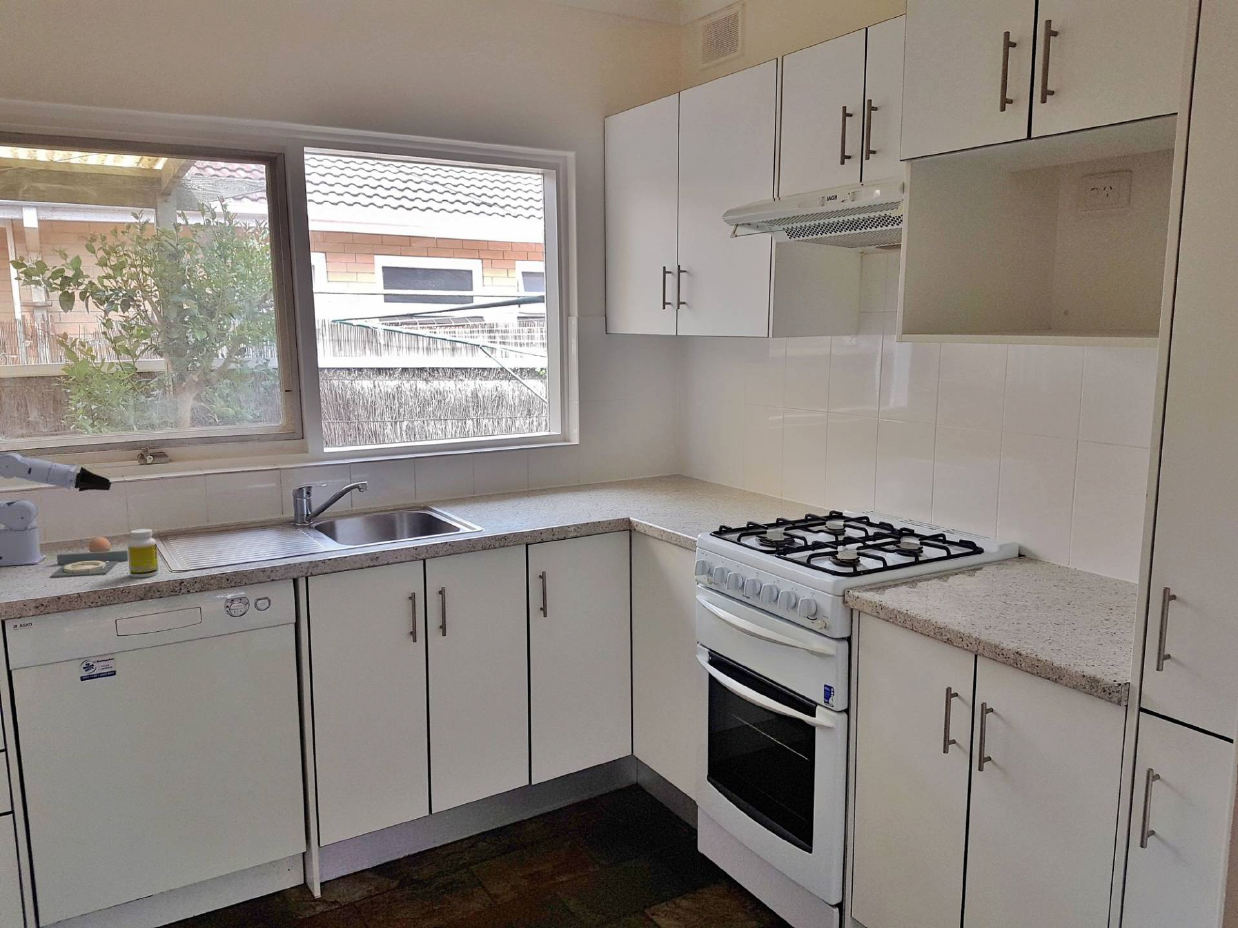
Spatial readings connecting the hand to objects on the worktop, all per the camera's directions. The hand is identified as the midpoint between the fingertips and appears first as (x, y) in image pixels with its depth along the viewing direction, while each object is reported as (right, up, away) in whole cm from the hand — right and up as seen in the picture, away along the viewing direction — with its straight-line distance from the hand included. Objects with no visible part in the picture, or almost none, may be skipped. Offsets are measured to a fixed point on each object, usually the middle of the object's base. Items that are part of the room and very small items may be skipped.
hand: (109, 485), depth 240 cm
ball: (-3, -19, +2) cm, 19 cm away
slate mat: (+1, -21, -13) cm, 24 cm away
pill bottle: (+18, -22, -17) cm, 33 cm away
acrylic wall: (-1, -20, -5) cm, 20 cm away
